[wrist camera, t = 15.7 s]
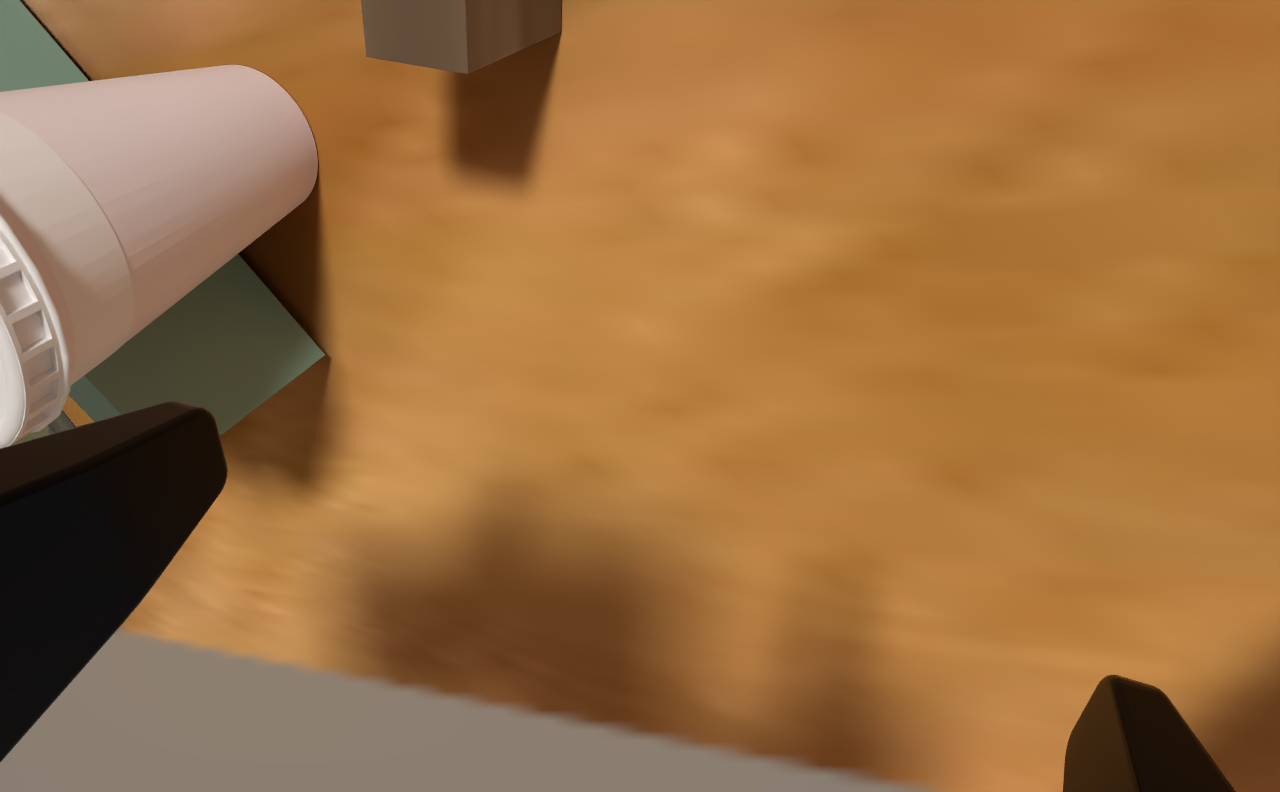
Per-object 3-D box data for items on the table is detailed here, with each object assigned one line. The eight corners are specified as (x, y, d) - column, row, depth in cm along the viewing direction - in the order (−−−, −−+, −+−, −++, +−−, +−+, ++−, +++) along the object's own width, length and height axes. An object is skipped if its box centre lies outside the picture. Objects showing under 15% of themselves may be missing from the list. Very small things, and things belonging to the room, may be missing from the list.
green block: (325, 354, 25) (175, 470, 21) (289, 381, 26) (138, 497, 22) (-31, -58, 22) (-303, -29, 17) (-55, -8, 23) (-317, 32, 18)
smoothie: (154, 201, 25) (-547, 509, 14) (140, -39, 21) (-854, 114, 10) (353, 295, 24) (-211, 699, 13) (378, 65, 20) (-397, 358, 9)
